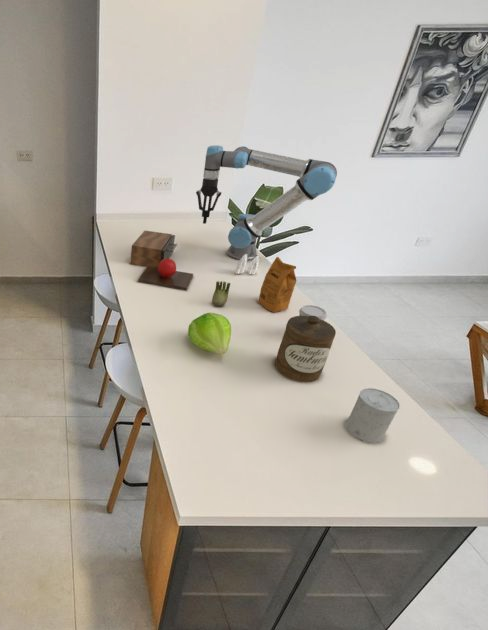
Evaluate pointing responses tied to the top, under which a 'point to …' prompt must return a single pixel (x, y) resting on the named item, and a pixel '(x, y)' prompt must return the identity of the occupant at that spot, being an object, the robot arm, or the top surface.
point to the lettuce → (211, 332)
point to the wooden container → (304, 348)
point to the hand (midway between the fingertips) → (204, 222)
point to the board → (166, 279)
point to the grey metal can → (372, 415)
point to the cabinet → (149, 248)
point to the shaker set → (252, 267)
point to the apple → (167, 268)
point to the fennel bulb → (220, 294)
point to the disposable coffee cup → (313, 311)
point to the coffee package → (278, 286)
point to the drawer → (168, 248)
